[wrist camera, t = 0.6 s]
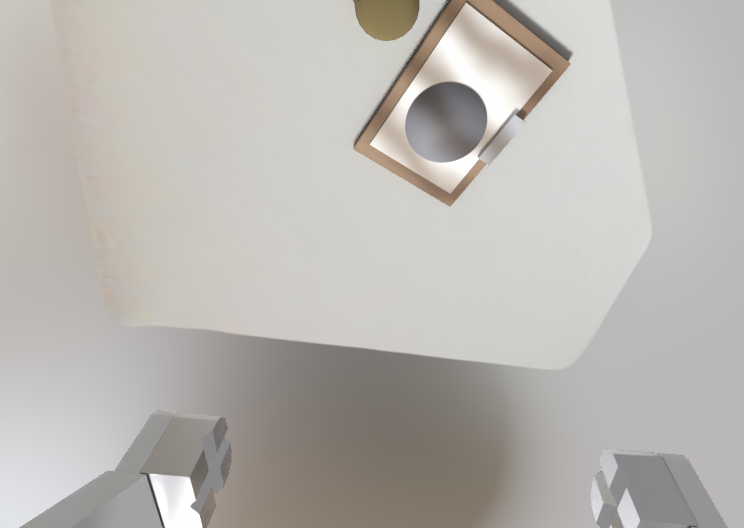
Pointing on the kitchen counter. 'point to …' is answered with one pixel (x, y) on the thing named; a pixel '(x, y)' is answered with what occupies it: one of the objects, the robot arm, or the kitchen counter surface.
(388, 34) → the cork
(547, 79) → the clipboard
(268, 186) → the kitchen counter surface
